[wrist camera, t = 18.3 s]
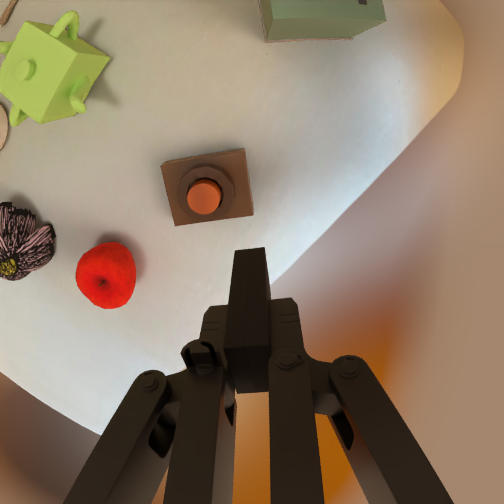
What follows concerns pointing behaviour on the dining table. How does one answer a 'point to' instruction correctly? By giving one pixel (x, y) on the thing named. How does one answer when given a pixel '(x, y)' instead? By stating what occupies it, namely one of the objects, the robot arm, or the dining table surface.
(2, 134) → the mug
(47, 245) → the decorative flower
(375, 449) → the robot arm
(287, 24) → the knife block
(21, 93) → the teapot
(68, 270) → the dining table surface
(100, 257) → the apple
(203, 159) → the brown button base
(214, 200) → the button
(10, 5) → the jawbone
